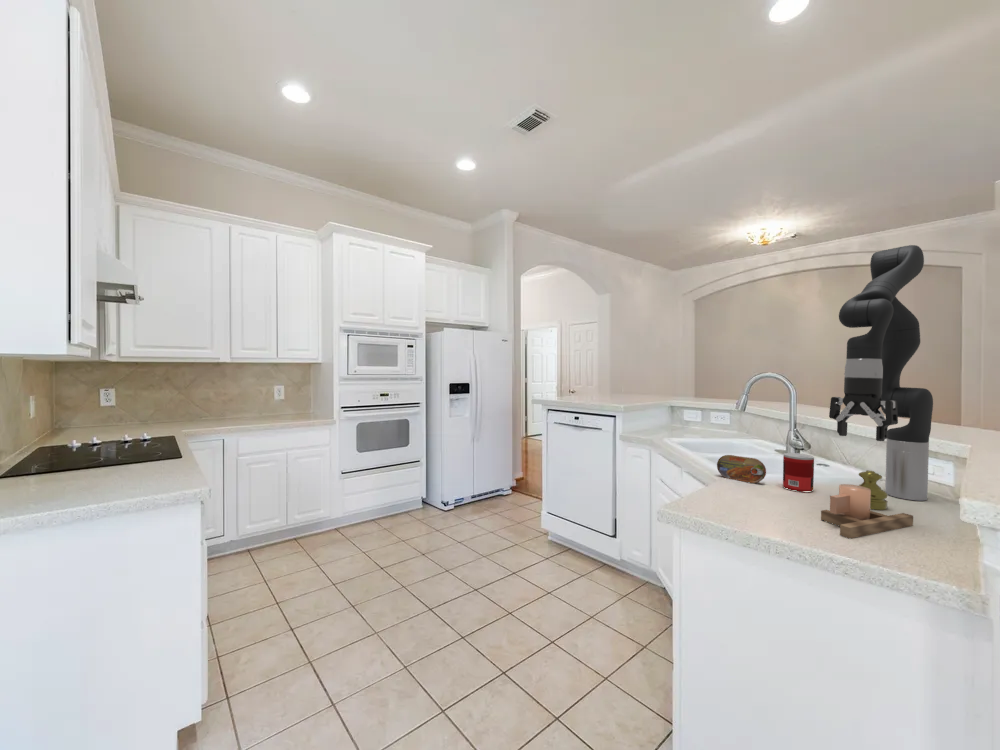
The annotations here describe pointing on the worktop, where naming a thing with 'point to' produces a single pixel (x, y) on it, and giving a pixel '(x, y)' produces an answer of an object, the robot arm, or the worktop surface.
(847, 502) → the tan paddle shape
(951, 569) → the worktop surface
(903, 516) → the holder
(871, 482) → the brass doorknob
